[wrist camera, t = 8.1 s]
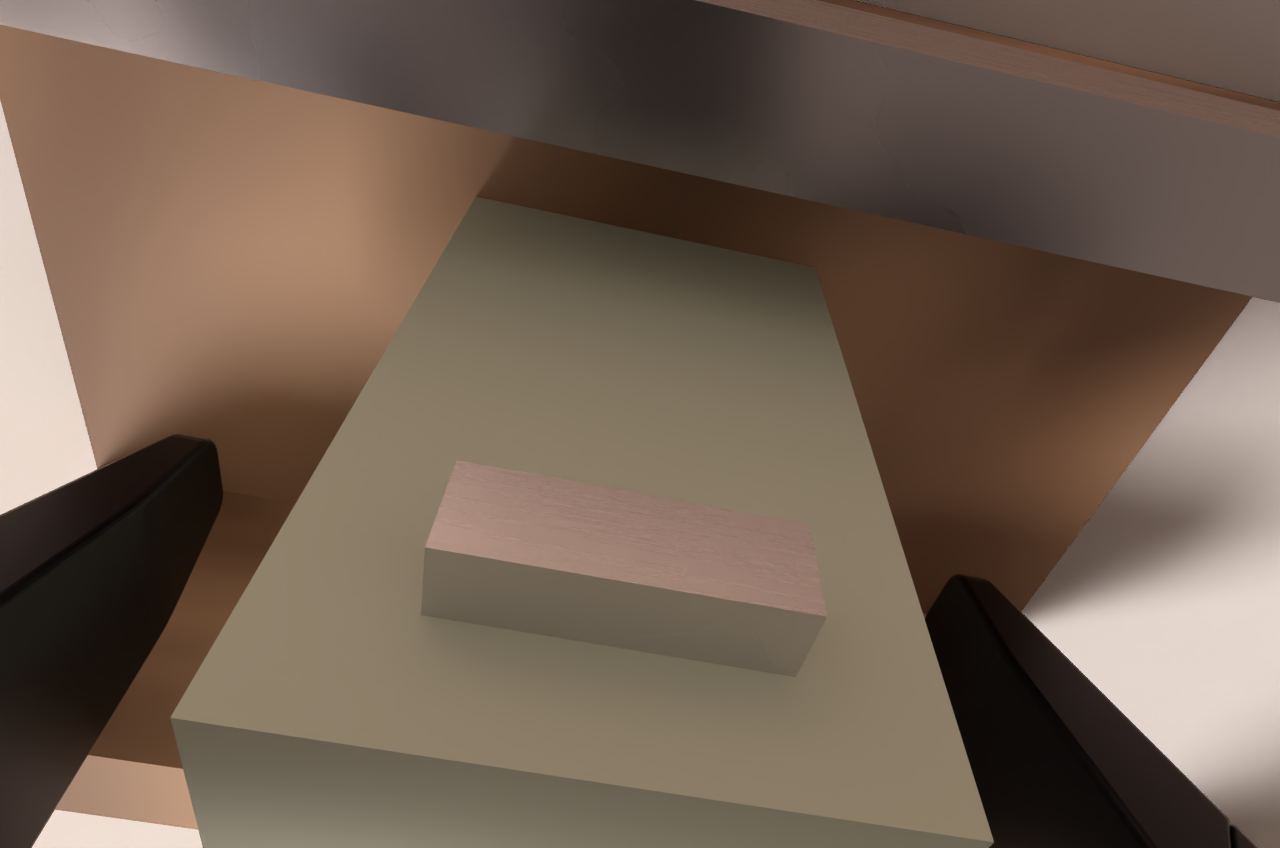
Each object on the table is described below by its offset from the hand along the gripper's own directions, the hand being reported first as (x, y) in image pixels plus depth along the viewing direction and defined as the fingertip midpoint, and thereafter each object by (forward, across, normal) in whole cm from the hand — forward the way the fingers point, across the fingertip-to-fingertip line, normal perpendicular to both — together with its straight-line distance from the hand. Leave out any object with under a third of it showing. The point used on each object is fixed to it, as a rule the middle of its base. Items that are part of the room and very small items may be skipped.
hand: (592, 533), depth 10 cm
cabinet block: (+3, 0, 0) cm, 3 cm away
